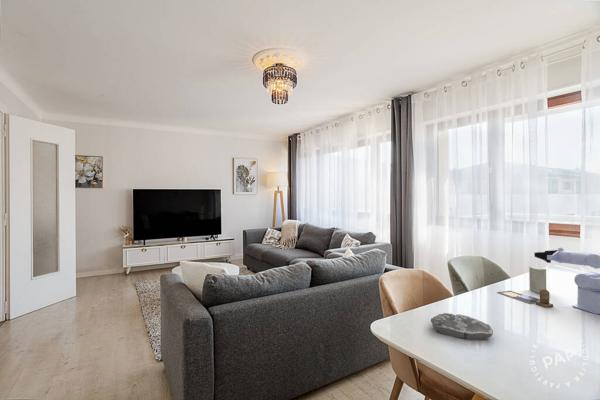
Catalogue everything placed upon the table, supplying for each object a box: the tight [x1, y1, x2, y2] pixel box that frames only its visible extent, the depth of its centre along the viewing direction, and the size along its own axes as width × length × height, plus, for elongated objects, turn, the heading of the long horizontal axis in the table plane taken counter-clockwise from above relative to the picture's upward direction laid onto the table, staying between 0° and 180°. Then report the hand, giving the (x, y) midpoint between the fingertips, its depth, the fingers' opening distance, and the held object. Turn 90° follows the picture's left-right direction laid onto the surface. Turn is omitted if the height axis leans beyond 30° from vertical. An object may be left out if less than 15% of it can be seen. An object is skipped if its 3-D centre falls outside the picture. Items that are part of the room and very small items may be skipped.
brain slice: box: [430, 312, 494, 341], centre depth 110 cm, size 20×17×3 cm
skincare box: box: [528, 266, 547, 294], centre depth 156 cm, size 6×4×12 cm
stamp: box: [535, 288, 554, 309], centre depth 136 cm, size 4×4×7 cm
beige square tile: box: [496, 290, 523, 300], centre depth 150 cm, size 9×9×1 cm
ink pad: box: [515, 294, 540, 304], centre depth 142 cm, size 7×7×1 cm
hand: (540, 253), depth 150 cm, fingers open, 7 cm apart
